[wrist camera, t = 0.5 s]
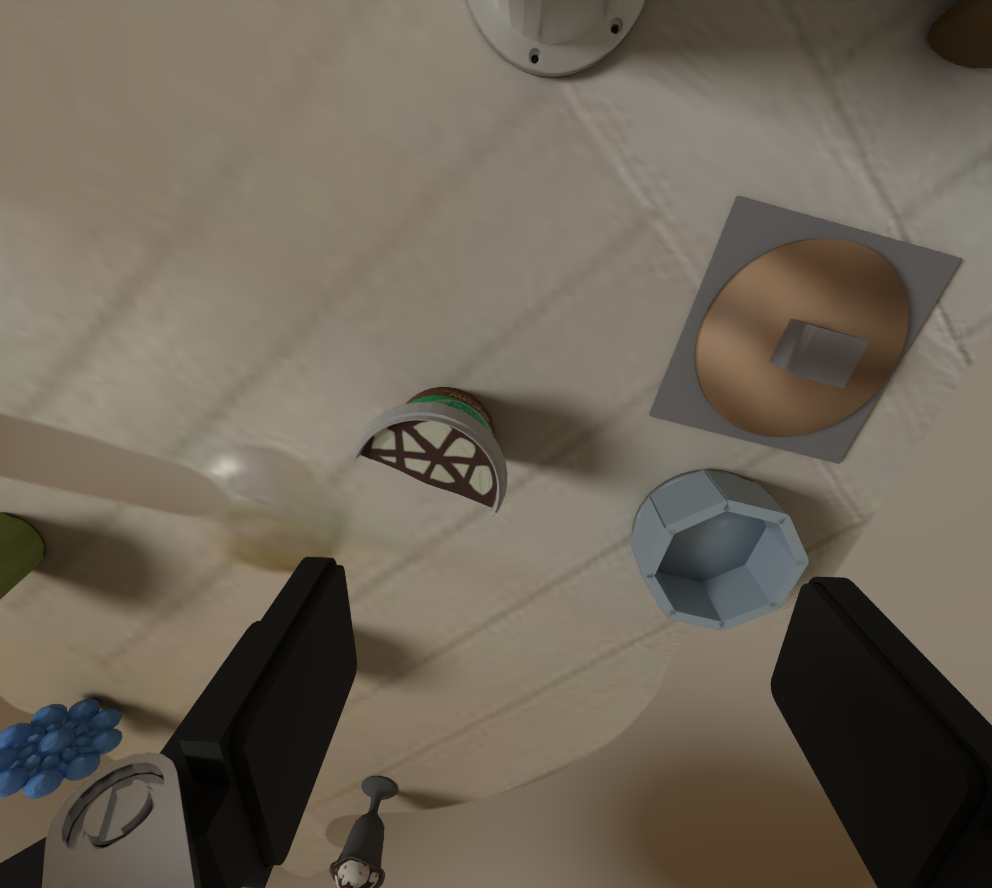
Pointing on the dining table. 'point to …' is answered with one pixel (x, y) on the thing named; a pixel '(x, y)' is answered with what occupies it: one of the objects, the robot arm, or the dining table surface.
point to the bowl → (716, 549)
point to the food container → (441, 444)
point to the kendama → (965, 34)
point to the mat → (747, 239)
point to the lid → (801, 337)
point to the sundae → (365, 842)
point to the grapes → (56, 747)
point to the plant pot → (17, 551)
